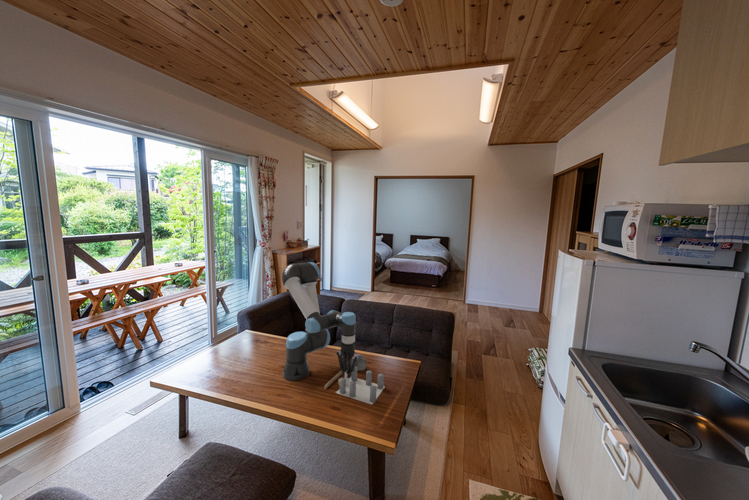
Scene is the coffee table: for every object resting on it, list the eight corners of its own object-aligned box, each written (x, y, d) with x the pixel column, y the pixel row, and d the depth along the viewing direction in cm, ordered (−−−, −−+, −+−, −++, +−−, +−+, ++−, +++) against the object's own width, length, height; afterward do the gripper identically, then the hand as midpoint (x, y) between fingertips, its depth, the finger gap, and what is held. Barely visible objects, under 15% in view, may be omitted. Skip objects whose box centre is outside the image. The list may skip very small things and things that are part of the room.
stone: (358, 357, 168) (362, 349, 178) (345, 366, 170) (349, 357, 180) (368, 370, 168) (371, 361, 178) (355, 379, 170) (359, 369, 180)
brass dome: (336, 384, 156) (336, 380, 156) (340, 380, 160) (340, 376, 159) (343, 386, 154) (343, 382, 154) (347, 382, 158) (347, 378, 157)
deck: (324, 391, 151) (324, 376, 150) (340, 375, 167) (340, 362, 166) (373, 407, 140) (373, 391, 139) (386, 388, 155) (386, 374, 154)
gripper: (333, 341, 152) (332, 383, 155) (355, 346, 147) (354, 389, 149) (341, 336, 159) (339, 376, 161) (362, 341, 153) (360, 382, 156)
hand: (346, 382), depth 155 cm, fingers closed
